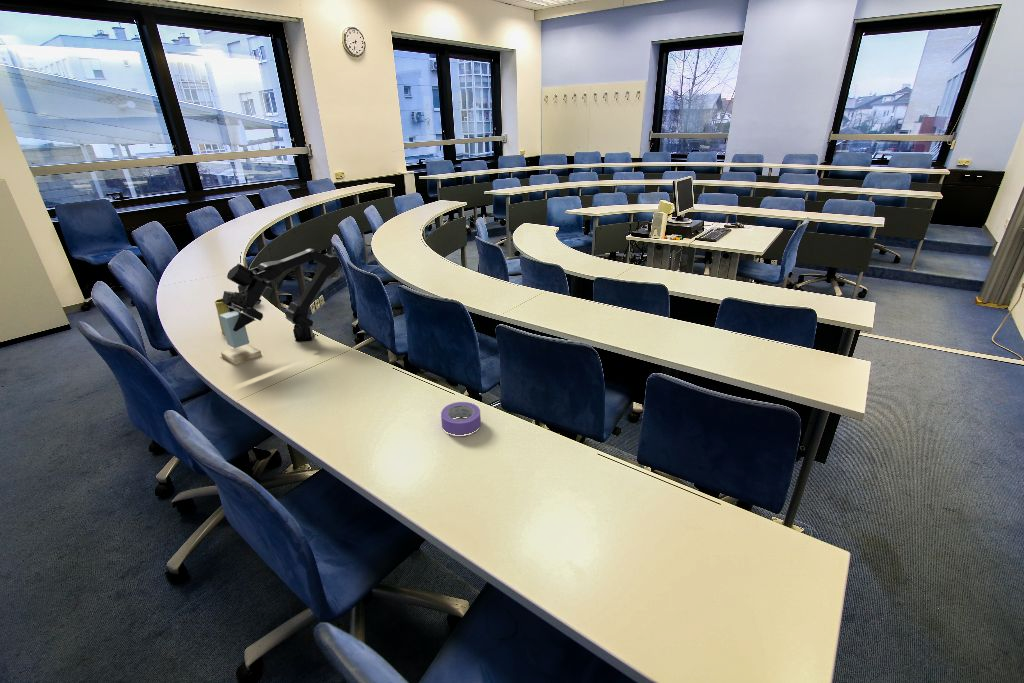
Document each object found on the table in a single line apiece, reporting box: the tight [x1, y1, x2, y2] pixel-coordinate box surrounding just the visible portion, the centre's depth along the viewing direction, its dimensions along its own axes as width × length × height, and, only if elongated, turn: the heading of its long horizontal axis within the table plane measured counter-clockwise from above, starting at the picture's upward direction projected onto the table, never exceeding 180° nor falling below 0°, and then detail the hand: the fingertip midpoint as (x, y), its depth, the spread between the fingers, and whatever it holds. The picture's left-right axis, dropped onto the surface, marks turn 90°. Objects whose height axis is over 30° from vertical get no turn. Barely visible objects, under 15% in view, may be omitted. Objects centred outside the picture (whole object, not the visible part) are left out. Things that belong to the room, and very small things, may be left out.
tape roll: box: [440, 401, 482, 435], centre depth 141 cm, size 12×12×5 cm
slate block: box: [220, 311, 250, 349], centre depth 174 cm, size 6×6×12 cm
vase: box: [214, 297, 228, 335], centre depth 200 cm, size 6×6×14 cm
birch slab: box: [220, 343, 262, 366], centre depth 179 cm, size 10×10×2 cm
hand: (230, 329), depth 173 cm, fingers closed on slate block, 5 cm apart
